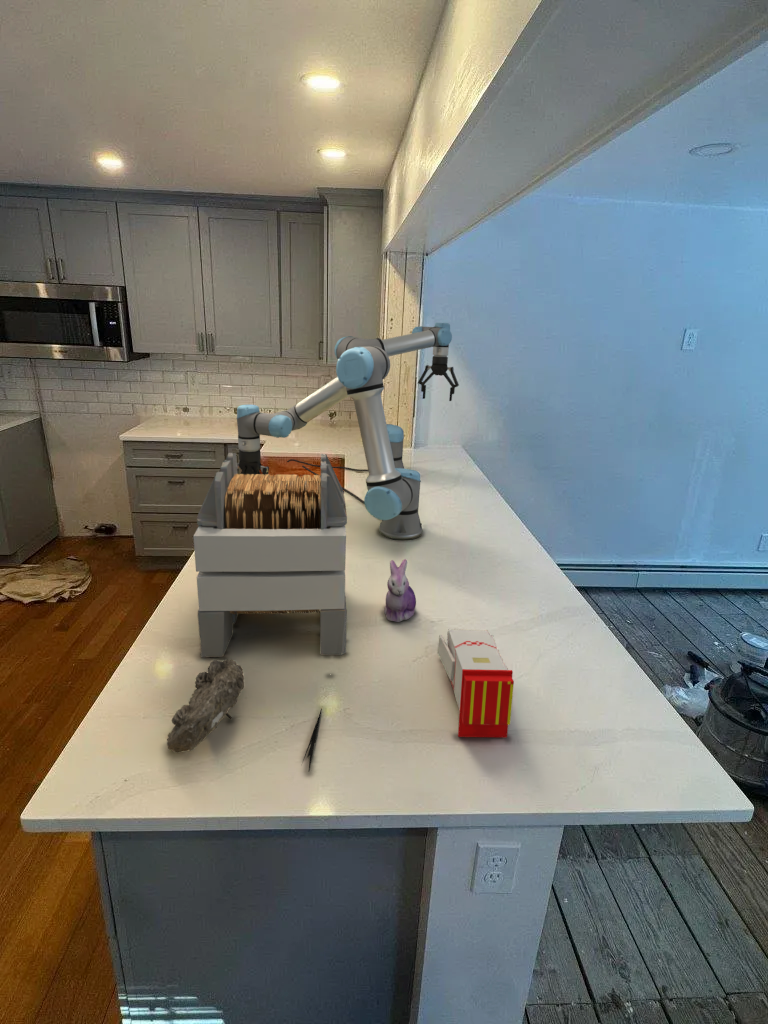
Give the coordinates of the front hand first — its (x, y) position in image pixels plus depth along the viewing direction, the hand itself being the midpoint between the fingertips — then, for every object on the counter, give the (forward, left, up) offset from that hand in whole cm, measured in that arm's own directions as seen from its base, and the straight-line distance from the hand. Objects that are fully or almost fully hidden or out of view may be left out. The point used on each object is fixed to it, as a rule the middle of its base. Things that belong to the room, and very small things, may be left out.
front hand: (251, 510), depth 207 cm
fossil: (+91, -58, -3) cm, 108 cm away
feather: (+104, -42, -3) cm, 113 cm away
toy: (+117, -12, -3) cm, 117 cm away
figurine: (+84, -3, -3) cm, 84 cm away
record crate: (+68, -29, -3) cm, 74 cm away
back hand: (-21, +116, +29) cm, 121 cm away
